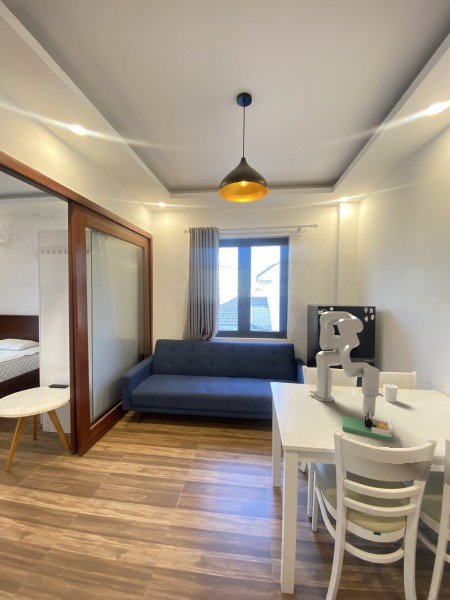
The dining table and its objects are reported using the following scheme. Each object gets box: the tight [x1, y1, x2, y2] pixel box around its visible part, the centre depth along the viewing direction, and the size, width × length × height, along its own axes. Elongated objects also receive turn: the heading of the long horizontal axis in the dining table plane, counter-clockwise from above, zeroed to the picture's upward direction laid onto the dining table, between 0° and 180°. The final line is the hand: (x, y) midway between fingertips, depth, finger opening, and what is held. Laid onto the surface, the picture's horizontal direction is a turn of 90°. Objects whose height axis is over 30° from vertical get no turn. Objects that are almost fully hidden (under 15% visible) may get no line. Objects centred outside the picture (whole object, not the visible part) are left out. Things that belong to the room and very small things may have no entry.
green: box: [342, 415, 395, 443], centre depth 128 cm, size 22×12×6 cm, turn 64°
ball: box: [376, 424, 387, 430], centre depth 125 cm, size 5×5×5 cm
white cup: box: [382, 383, 399, 404], centre depth 165 cm, size 8×8×10 cm
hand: (368, 425), depth 128 cm, fingers open, 3 cm apart
